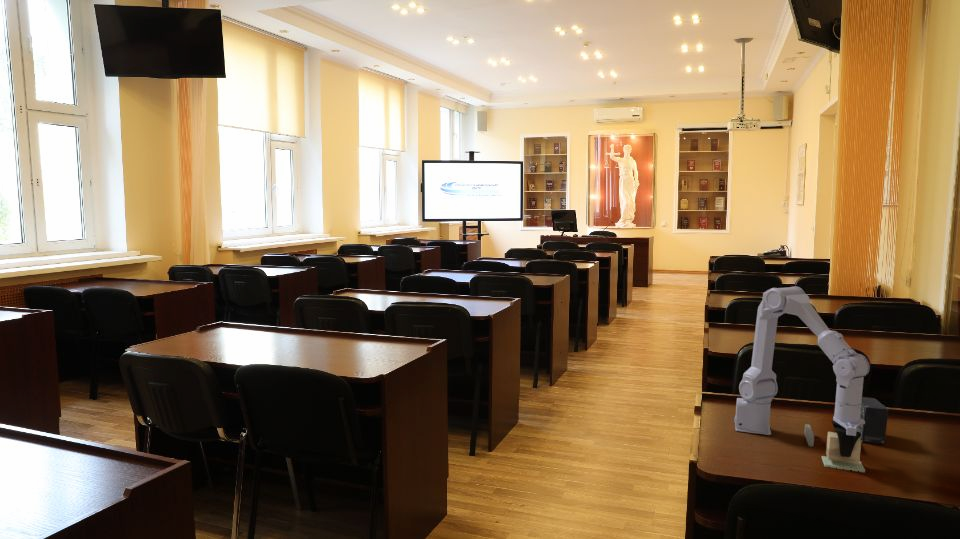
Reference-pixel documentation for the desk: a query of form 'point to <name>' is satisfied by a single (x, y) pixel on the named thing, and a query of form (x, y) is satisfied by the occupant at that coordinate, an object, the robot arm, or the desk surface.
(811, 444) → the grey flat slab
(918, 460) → the desk surface
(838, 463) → the mat
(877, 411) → the small box
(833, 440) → the block
